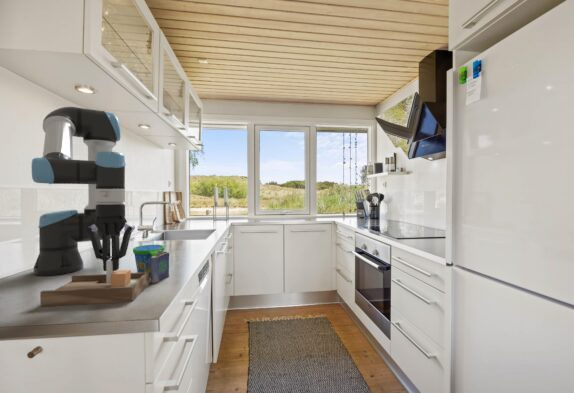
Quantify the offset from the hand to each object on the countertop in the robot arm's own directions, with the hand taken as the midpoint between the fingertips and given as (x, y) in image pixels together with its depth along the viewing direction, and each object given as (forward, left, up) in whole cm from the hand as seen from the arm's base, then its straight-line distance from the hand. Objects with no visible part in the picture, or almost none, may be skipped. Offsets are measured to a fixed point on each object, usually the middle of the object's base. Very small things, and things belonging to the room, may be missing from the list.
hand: (111, 281), depth 85 cm
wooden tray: (0, -3, -4) cm, 5 cm away
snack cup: (-20, +5, -4) cm, 21 cm away
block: (0, +3, -1) cm, 3 cm away
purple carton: (-12, +11, -4) cm, 17 cm away
